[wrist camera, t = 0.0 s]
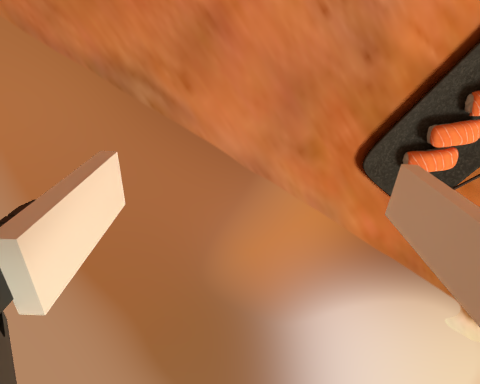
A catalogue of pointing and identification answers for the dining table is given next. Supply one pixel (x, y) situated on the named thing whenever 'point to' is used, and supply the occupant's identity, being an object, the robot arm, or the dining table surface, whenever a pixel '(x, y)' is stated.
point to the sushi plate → (435, 131)
